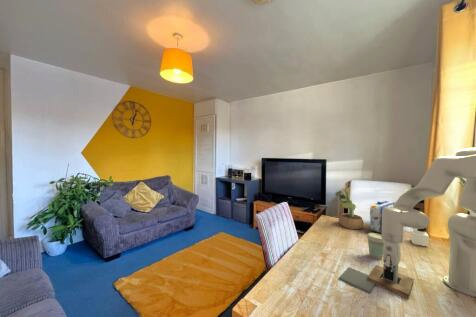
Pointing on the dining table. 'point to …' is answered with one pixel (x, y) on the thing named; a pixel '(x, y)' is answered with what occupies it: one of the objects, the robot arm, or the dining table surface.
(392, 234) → the robot arm
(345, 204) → the potted plant
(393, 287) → the board
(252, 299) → the dining table surface
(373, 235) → the coffee cup
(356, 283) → the coaster
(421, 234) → the salt and pepper set
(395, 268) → the slate block
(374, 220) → the lunch box
